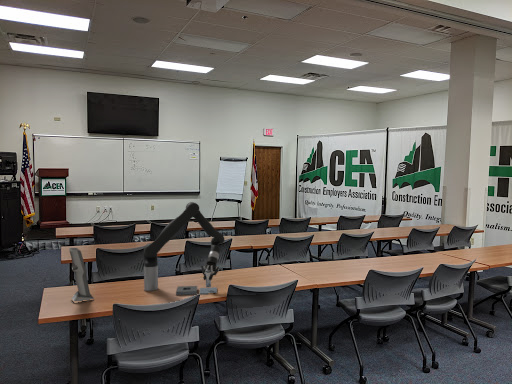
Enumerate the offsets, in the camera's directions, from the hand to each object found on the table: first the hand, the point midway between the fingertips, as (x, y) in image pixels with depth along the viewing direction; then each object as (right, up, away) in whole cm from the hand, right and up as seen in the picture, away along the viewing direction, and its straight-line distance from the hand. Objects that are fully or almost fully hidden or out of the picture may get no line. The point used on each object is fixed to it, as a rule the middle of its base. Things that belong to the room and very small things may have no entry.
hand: (207, 279), depth 267 cm
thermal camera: (-81, -10, -14) cm, 83 cm away
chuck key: (0, -5, +2) cm, 6 cm away
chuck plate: (-15, -9, +1) cm, 17 cm away
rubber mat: (0, -9, +2) cm, 9 cm away
